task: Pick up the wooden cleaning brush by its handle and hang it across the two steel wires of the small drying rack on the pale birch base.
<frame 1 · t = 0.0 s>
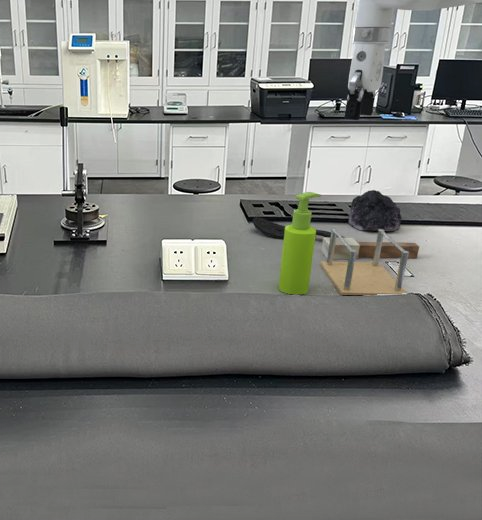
hand: (358, 117, 123), 31 cm above the countertop, tool pointing down, fingers open, 9 cm apart
crystal cluster: (372, 226, 145), on the countertop
wire rack: (361, 279, 113), on the countertop
cleaning brush: (371, 255, 125), on the countertop
soap dispenser: (294, 289, 109), on the countertop
hairbrush: (299, 237, 137), on the countertop
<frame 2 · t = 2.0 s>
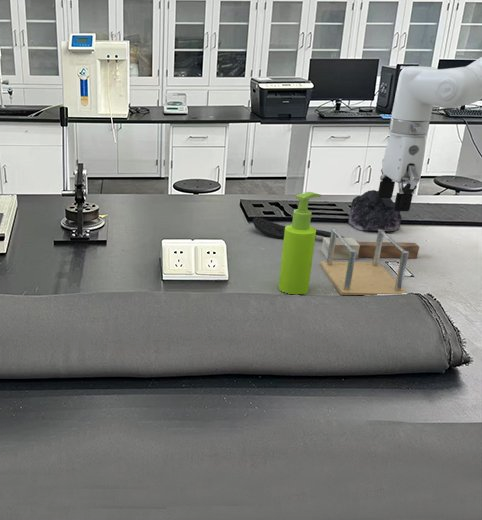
hand: (392, 204, 121), 13 cm above the countertop, tool pointing down, fingers open, 9 cm apart
nothing on the countertop moved.
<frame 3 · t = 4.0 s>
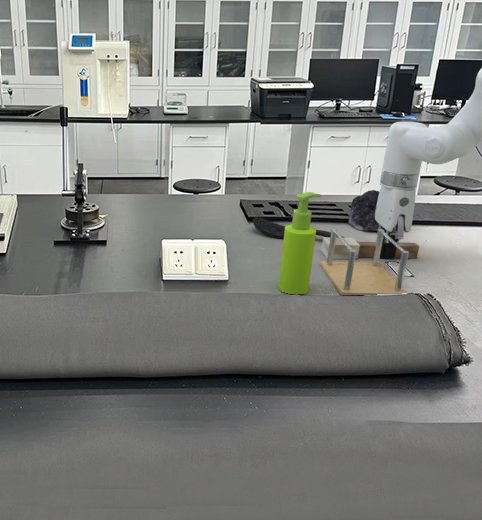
hand: (384, 255, 125), 0 cm above the countertop, tool pointing down, fingers closed on cleaning brush, 2 cm apart
cleaning brush: (371, 255, 125), on the countertop, touching gripper
everything else where it was.
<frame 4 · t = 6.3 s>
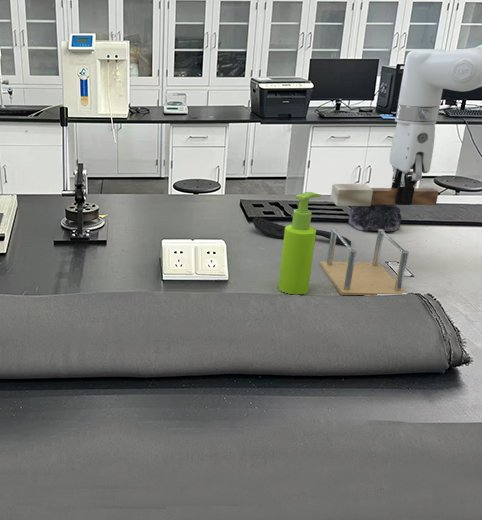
hand: (400, 201, 114), 15 cm above the countertop, tool pointing down, fingers closed on cleaning brush, 2 cm apart
cleaning brush: (385, 203, 115), point 15 cm above the countertop, touching gripper
everything else where it was.
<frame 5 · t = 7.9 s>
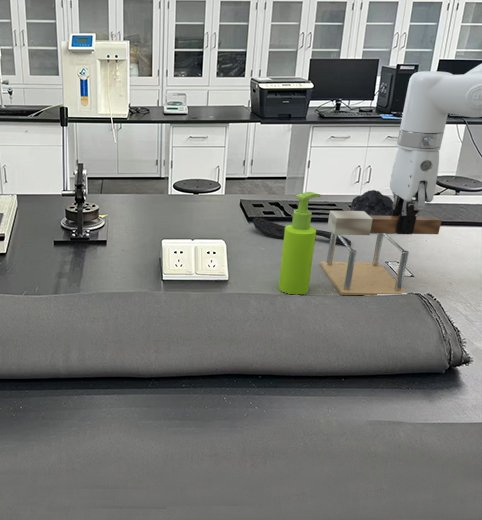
hand: (400, 230, 108), 11 cm above the countertop, tool pointing down, fingers closed on cleaning brush, 2 cm apart
cleaning brush: (385, 231, 109), point 11 cm above the countertop, touching gripper
everything else where it was.
when the fingers open (9 cm above the countertop, at t = 8.7 s): cleaning brush stays where it is, resting on wire rack.
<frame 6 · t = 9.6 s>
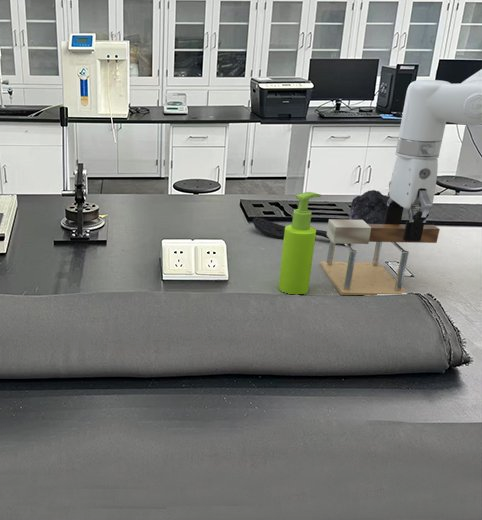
hand: (401, 232, 108), 11 cm above the countertop, tool pointing down, fingers open, 9 cm apart
cleaning brush: (384, 240, 109), point 9 cm above the countertop, touching wire rack
everything else where it was.
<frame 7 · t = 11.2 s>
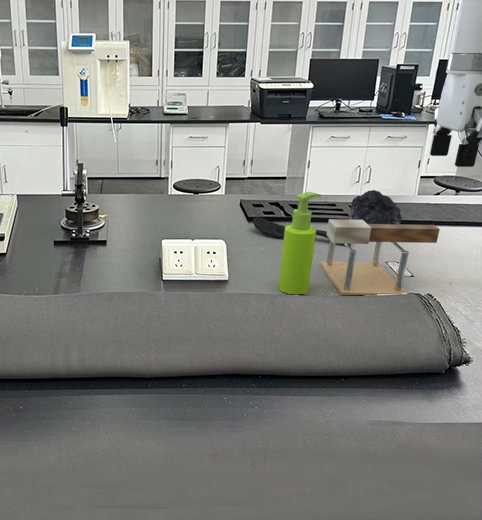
hand: (450, 160, 100), 26 cm above the countertop, tool pointing down, fingers open, 9 cm apart
nothing on the countertop moved.
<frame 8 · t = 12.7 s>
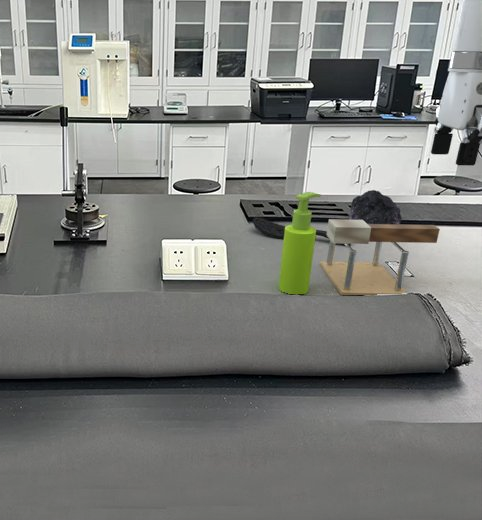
hand: (451, 159, 100), 26 cm above the countertop, tool pointing down, fingers open, 9 cm apart
nothing on the countertop moved.
at the end: cleaning brush inside the target area on the wire rack (0.0 cm from its centre), point 9.1 cm above the wire rack's base; cleaning brush touching wire rack; the gripper is holding nothing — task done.
